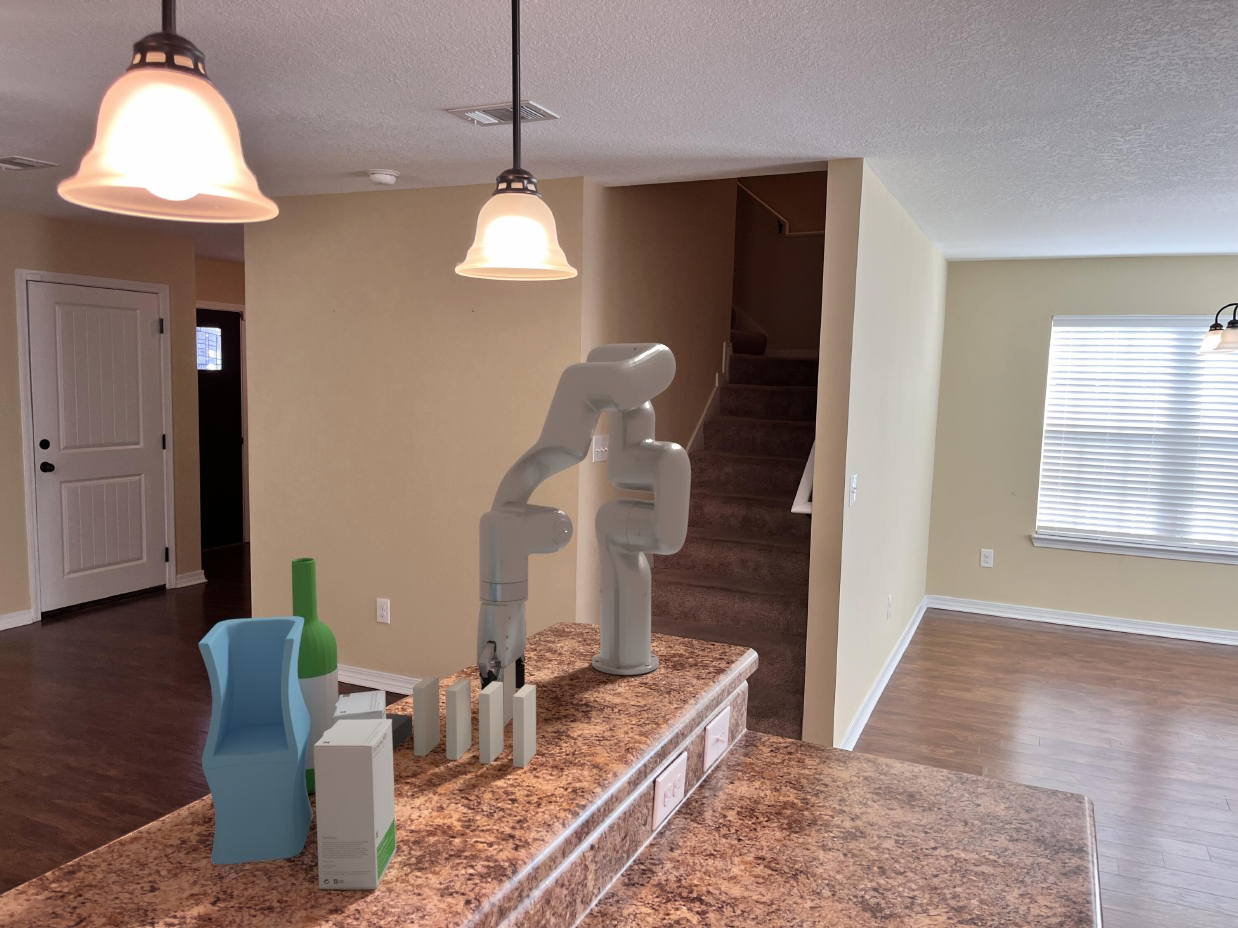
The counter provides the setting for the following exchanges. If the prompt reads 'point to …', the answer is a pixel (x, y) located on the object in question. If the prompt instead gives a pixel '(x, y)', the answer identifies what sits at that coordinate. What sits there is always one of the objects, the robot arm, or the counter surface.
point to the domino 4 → (508, 691)
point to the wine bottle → (314, 660)
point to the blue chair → (256, 740)
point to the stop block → (400, 728)
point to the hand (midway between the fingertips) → (503, 697)
